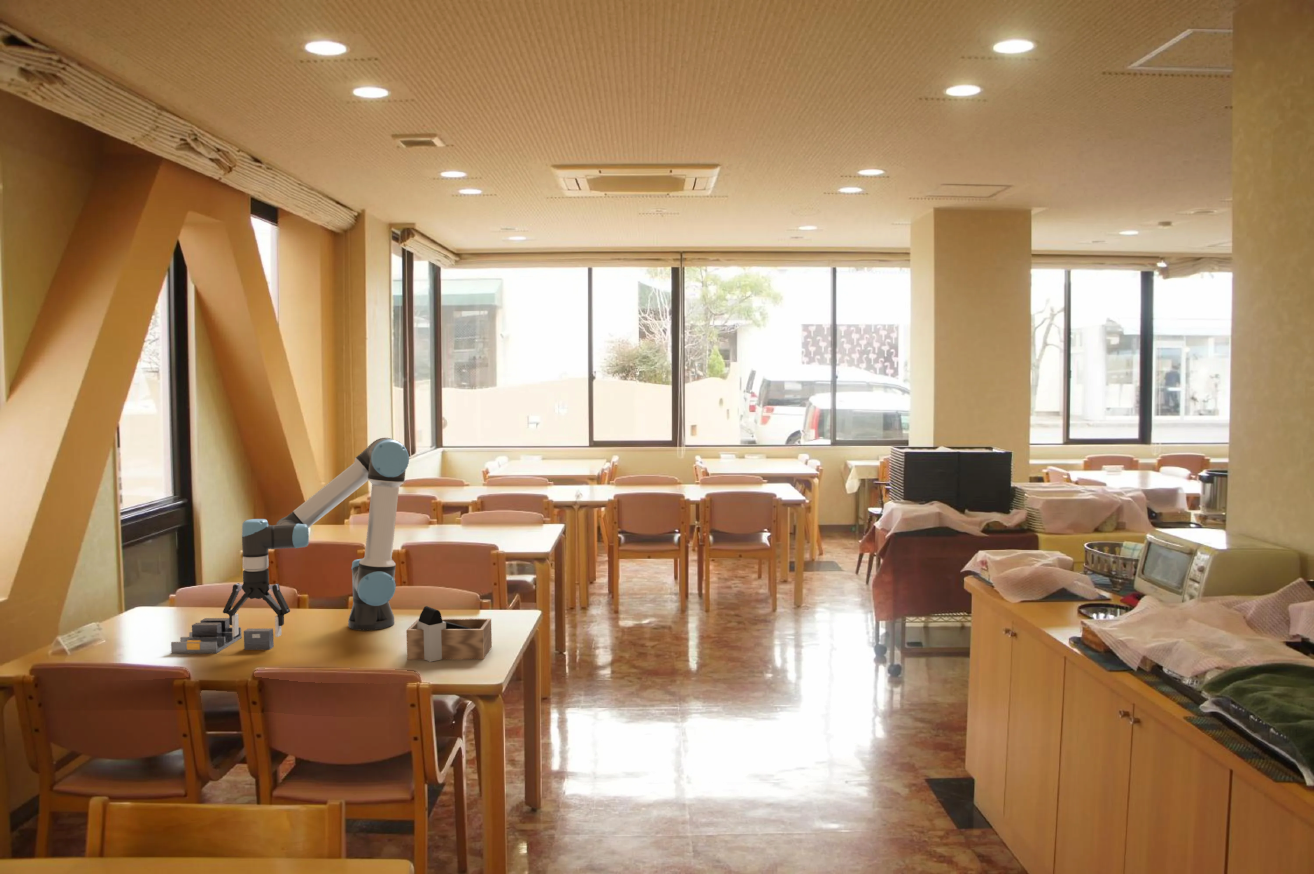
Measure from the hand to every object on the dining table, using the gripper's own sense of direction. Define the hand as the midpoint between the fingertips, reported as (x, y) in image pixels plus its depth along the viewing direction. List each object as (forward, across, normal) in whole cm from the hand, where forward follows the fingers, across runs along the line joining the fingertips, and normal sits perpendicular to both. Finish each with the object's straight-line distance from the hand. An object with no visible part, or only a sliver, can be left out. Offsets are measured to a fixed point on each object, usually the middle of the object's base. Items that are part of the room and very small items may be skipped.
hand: (257, 635), depth 300 cm
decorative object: (+3, -62, +6) cm, 63 cm away
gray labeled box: (+4, 0, 0) cm, 4 cm away
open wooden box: (+3, -62, +6) cm, 63 cm away
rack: (+4, +18, -3) cm, 18 cm away
